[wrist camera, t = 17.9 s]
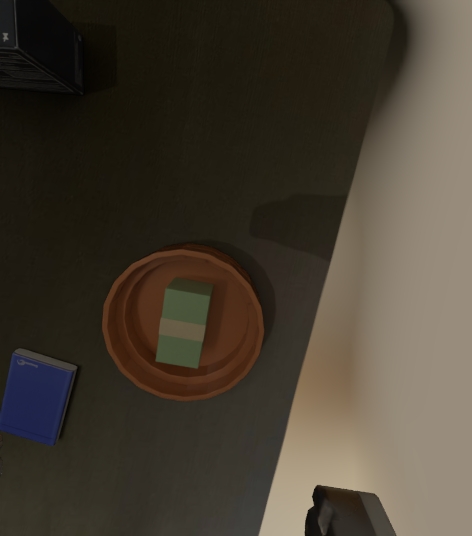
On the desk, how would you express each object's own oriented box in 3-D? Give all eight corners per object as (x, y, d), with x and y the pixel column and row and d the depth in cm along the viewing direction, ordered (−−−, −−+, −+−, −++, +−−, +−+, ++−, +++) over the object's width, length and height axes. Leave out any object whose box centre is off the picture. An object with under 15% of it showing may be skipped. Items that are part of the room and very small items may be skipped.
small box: (84, 30, 33) (13, -46, 23) (85, 97, 34) (20, 52, 24) (-14, 22, 33) (-130, -59, 22) (-9, 88, 34) (-115, 41, 24)
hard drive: (11, 353, 40) (-5, 429, 42) (72, 372, 40) (53, 447, 43) (19, 347, 41) (4, 421, 44) (78, 366, 42) (59, 438, 44)
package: (214, 283, 38) (210, 296, 33) (203, 348, 40) (198, 369, 35) (174, 276, 38) (164, 288, 33) (165, 341, 40) (154, 361, 35)
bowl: (273, 257, 38) (278, 266, 33) (246, 385, 42) (247, 412, 36) (128, 231, 37) (110, 236, 32) (114, 362, 41) (96, 386, 36)
